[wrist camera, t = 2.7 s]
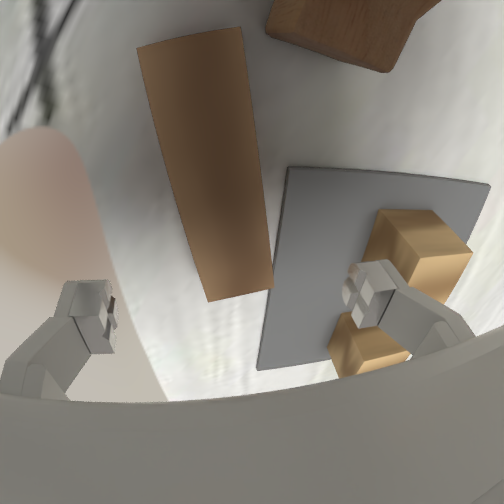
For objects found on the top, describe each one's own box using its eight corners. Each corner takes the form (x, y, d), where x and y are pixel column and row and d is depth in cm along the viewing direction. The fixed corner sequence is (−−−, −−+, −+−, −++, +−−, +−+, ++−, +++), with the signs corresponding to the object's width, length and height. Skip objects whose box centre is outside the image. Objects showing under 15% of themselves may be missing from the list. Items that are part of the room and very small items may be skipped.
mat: (287, 166, 17) (289, 170, 17) (488, 184, 20) (491, 186, 20) (256, 367, 29) (257, 371, 29) (408, 338, 33) (409, 341, 32)
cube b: (341, 312, 25) (364, 361, 22) (389, 305, 26) (414, 348, 23) (326, 347, 29) (344, 391, 25) (371, 338, 30) (390, 379, 26)
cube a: (378, 209, 19) (420, 257, 16) (432, 210, 20) (473, 252, 16) (358, 267, 22) (389, 318, 19) (409, 262, 23) (442, 307, 20)
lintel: (204, 268, 21) (208, 302, 18) (146, 46, 12) (136, 48, 9) (263, 255, 21) (274, 287, 19) (230, 28, 12) (240, 26, 10)
